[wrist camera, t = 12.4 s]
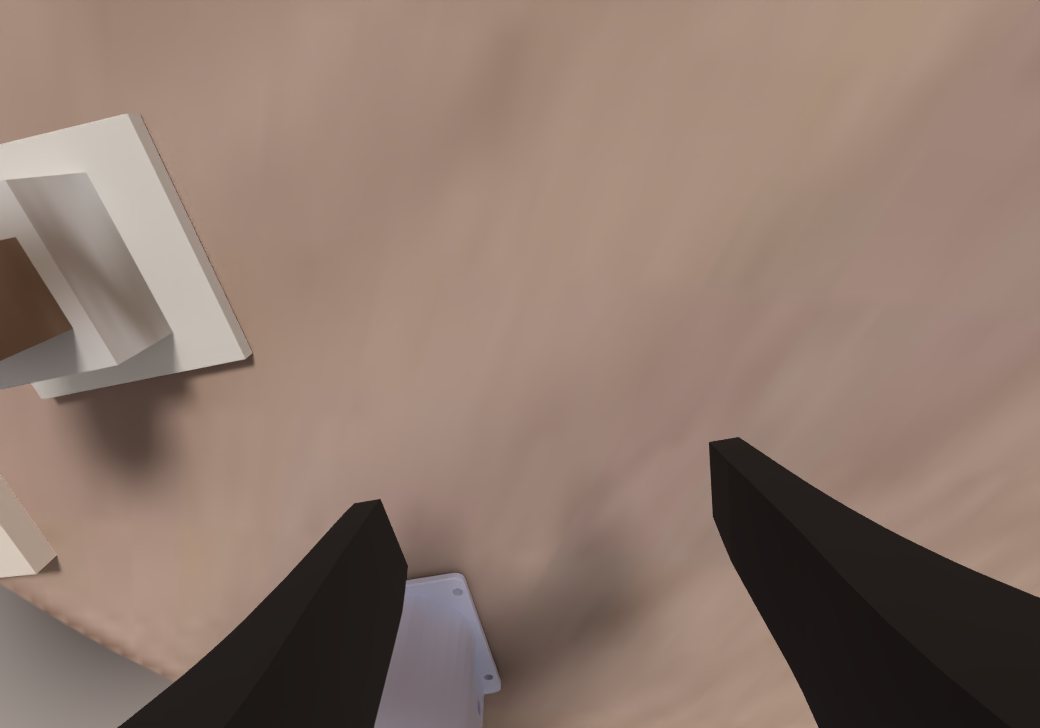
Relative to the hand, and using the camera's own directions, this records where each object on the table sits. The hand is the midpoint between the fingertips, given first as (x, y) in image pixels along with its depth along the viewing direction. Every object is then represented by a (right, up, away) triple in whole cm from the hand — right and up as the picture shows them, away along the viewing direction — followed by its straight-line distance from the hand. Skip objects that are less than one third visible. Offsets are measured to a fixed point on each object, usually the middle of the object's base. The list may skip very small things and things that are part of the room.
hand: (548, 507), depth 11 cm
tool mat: (-17, +7, +8) cm, 20 cm away
